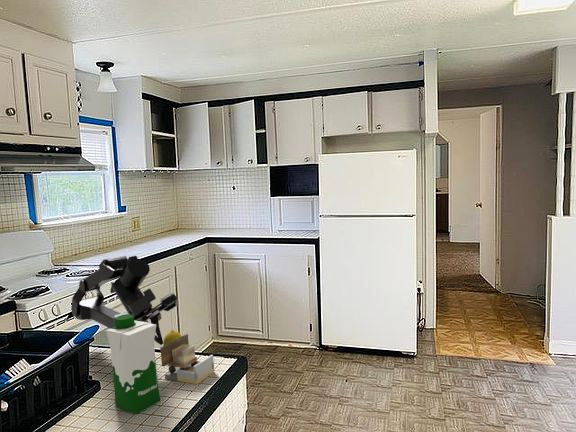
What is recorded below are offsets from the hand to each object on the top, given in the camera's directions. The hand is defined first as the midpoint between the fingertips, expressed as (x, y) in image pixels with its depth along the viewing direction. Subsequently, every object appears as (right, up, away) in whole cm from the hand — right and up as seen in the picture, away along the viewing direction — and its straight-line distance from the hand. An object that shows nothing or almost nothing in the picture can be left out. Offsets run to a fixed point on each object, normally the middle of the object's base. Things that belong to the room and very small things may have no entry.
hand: (162, 344), depth 118 cm
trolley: (+6, -6, -2) cm, 9 cm away
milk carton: (-1, -9, -16) cm, 19 cm away
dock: (+8, -7, -2) cm, 11 cm away
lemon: (+1, -7, +10) cm, 12 cm away
